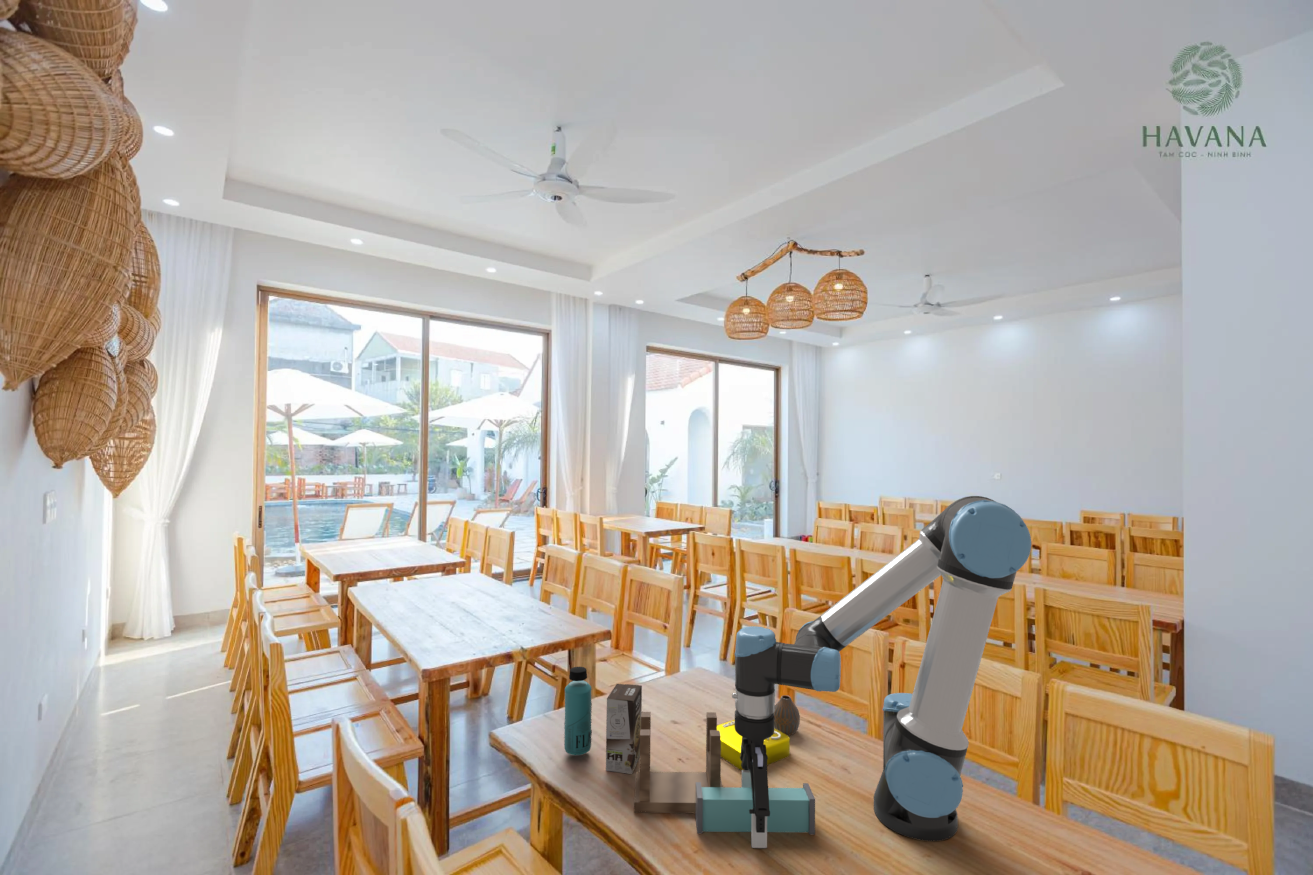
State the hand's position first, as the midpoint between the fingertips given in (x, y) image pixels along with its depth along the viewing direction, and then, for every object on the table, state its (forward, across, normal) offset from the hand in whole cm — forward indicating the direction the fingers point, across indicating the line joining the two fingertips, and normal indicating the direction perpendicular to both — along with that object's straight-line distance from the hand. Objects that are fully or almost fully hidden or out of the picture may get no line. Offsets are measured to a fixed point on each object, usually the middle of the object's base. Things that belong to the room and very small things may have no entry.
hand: (753, 823), depth 115 cm
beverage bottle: (0, -25, -37) cm, 45 cm away
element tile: (+1, -28, +3) cm, 28 cm away
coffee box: (0, -22, -26) cm, 34 cm away
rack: (0, -9, -14) cm, 17 cm away
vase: (0, -37, +14) cm, 40 cm away
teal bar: (0, 0, 0) cm, 0 cm away
